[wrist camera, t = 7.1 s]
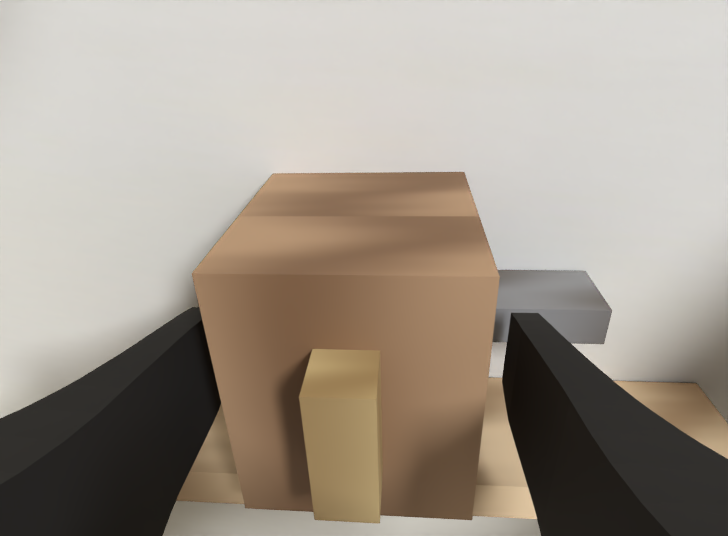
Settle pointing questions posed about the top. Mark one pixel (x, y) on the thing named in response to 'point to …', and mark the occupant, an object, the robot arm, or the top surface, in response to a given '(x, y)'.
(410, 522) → the top surface
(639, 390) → the cleat board
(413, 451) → the cabinet block
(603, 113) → the top surface
